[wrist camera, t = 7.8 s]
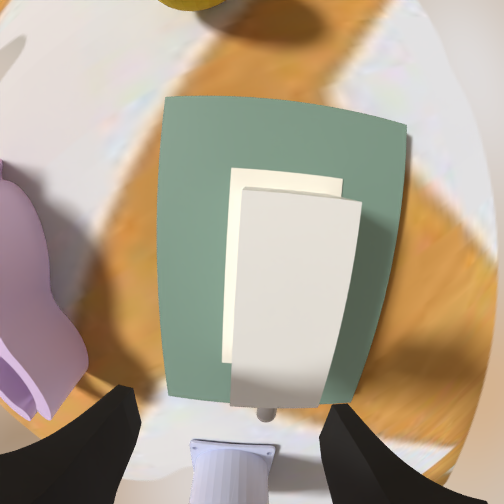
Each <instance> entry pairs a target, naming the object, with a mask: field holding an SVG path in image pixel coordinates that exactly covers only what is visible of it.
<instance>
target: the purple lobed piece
mask: <svg viewBox="0 0 504 504" xmlns="http://www.w3.org/2000/svg"><path fill="white" fill-rule="evenodd" d="M2 167H3V162H2V160H1V159H0V397H1V398H2V399H3V400H4V401H5V402H6V403H7V404H8V405H9V406H10V407H11V408H12V409H13V410H14V411H15V412H17V413H18V414H19V415H21V416H22V417H23V418H25V419H27V420H28V421H31V419H32V418H33V417H34V415H35V414H36V413H37V411H38V412H39V413H40V414H41V415H42V416H43V417H44V418H46V419H47V420H51V419H52V418H53V416H54V415H55V413H56V412H57V410H58V409H59V408H60V406H61V405H62V403H63V402H64V401H65V399H66V398H67V396H68V395H69V394H70V392H71V391H72V389H73V388H74V387H75V385H76V384H77V383H78V381H79V380H80V379H81V377H82V376H83V375H84V373H85V372H86V371H87V369H88V364H89V360H88V353H87V349H86V346H85V344H84V342H83V339H82V337H81V336H80V334H79V332H78V330H77V329H76V327H75V326H74V325H73V323H72V322H71V321H70V320H69V318H68V317H67V316H66V315H65V314H64V313H63V312H62V311H61V310H60V308H59V307H58V305H57V304H56V302H55V300H54V298H53V295H52V292H51V288H50V264H49V255H48V248H47V243H46V239H45V235H44V231H43V228H42V225H41V222H40V219H39V217H38V214H37V212H36V210H35V208H34V206H33V204H32V202H31V201H30V199H29V198H28V196H27V195H26V194H25V192H24V191H23V190H22V189H21V188H20V187H19V186H18V185H16V184H15V183H13V182H11V181H8V180H4V179H3V178H2Z"/></svg>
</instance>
